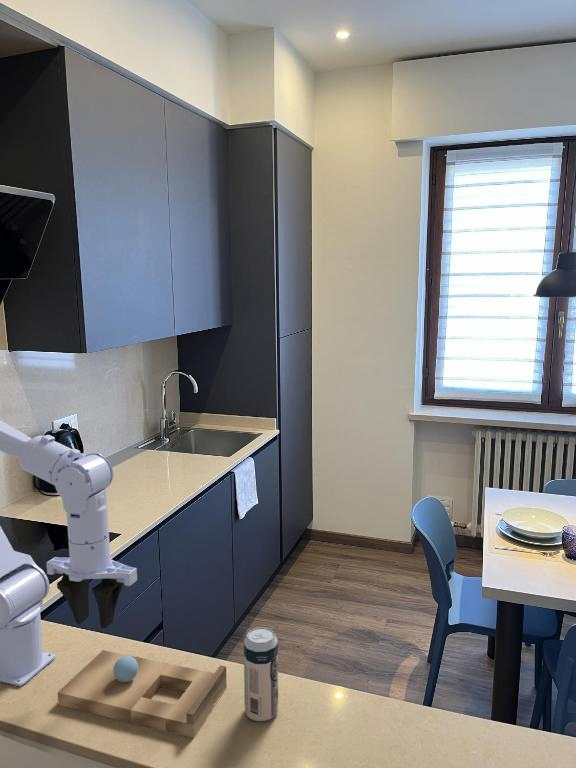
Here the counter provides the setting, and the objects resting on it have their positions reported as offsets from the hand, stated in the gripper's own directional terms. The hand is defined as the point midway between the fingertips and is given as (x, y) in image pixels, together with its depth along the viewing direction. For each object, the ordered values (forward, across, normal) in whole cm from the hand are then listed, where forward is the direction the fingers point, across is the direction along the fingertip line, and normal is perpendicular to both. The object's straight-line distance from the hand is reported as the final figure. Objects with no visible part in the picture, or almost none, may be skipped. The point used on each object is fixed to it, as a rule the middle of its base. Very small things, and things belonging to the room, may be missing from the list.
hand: (94, 622), depth 89 cm
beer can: (+11, +26, +2) cm, 28 cm away
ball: (+7, +5, 0) cm, 8 cm away
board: (+10, +8, 0) cm, 13 cm away
